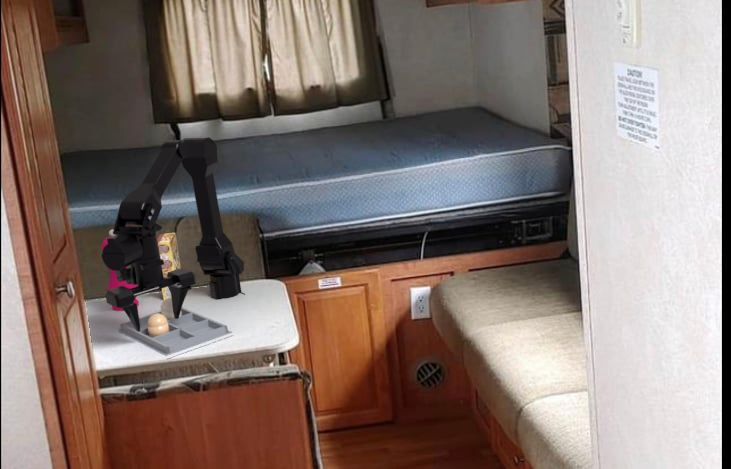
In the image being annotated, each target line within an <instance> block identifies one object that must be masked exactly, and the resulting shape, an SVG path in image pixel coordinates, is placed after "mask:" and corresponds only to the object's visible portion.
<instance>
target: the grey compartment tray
mask: <svg viewBox="0 0 731 469" xmlns="http://www.w3.org/2000/svg"><path fill="white" fill-rule="evenodd" d="M181 312H182V316H180V317H179V318H178V319H175V318H174V319H171V320H168V326H169V332H168V333H165V334H162V335H159V336H156V337H153V338H151V337H149V333H148V327H147V321H148V319H149V317H150V316H151V315H153V314H157V313H159V314H162V313H161V311H159V312H155V313H151V314H148V315H145V316H142V317H139V321H140V332H138V331H136V329H135V328H134V326H133V324H132V322H131V321H130V320H129V321H126V322H124V323H121V324H120V325H119V326H120V329H119V330H117V332H118V333H120V334H122V335H124V336H125V337H128V338H129V339H132V340H133V341H136V342H137V343H139V344H142V345H144V346H145V347H148V348H150V349H151V350H153V351H155V352H156V353H160V354H161V355H163V356H165V357H167V356H170V355H172V354H173V355H174V354H176V353H179V352H182V351H185V350H187V349H190V348H193V347H196V346H199V345H201V344H204V343H207V342H210V341H213V340H216V339H218V340H217V342H219V341H222V340H226V339H228V338H230V337H234V335H230V334H232V333H233V331H230V330H229V328H228V326H227V324H223V323H221V322H218V321H215V320H214V319H211V318H209V317H206V316H204V315H202V314H199V313H197V312H194V311H192V310H189V309H187V308H185V307H183V306H182V308H181ZM227 335H230V336H227ZM224 336H227V337H225V338H222V339H219V338H221V337H224ZM211 343H212V344H214V343H215V341H213V342H211ZM211 343H207V344H205V345H202V346H199V347H197V348H194V349H192V350H187V351H186V352H182V353H179V354H177V355H175V356H171V357H169V358H167V360H170V359H172V358H176V357H177V356H180V355H183V354H186V353H189V352H193V351H194V350H197V349H200V348H202V347H203V348H204V347H205V346H208V345H211Z"/></svg>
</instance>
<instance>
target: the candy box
mask: <svg viewBox="0 0 731 469" xmlns="http://www.w3.org/2000/svg"><path fill="white" fill-rule="evenodd" d="M157 240H158V246H159V252H160V258H161V259H163V261H164V264H163V265H162V271H163V277H165V278H167V274H168V272H170V271H173V270H177V269H180V268H182V265H181V260H180V254H179V253H180V252H179V248H178V242H177V241H178V240H177V236H176V232H168V233H167V232H166V233H161V234H160V233H159V236H157ZM161 294H162V298H163V301H164V300H165V299H167V298H171V293H170V290H169V288H168V287H165V288H161Z"/></svg>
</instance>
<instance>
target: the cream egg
mask: <svg viewBox="0 0 731 469" xmlns="http://www.w3.org/2000/svg"><path fill="white" fill-rule="evenodd" d="M160 312H161V313H162V315H164V316H165V317H166V318H167V320H171V319H174V318H175V317H174V313H173V307H172V298H167V299H165V300H164V299H163V301H162V302H161V304H160ZM180 316H182V312H180V315H179V317H180Z"/></svg>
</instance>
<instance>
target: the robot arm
mask: <svg viewBox="0 0 731 469" xmlns="http://www.w3.org/2000/svg"><path fill="white" fill-rule="evenodd" d="M218 160H219V159H218V147H217V143H216V141H215V140H213V139H212V138H211V137H208V136H207V137H185V138H183V139H182V140H166V141H165V142H163V144H162V145H161V150H160V152H159V153H158V155H157V157H156V159H155V160H154V162H153V163H152V166H150V169H149V171H148V172H147V174H146V175H145V177H144V178H143V180H142V182H141V184H140V185H139V186H138V187H137V188H135V189H133V190H131V191H130V192H129V193H128V194H126V196H125V197H124V198H123V199H122V201H121V202H120V204H119V208H118V213H117V216H116V219H115V223H114V227H113V229H114V230H113V234H114V235H116V236H114V237H109V236H108V237H109V238H107V237H106V238H107V242H108V244H107V245H106V246H105V247H104V249H103V250H102V254H101V258H102V261H103V263H104V265H105V267H107V268H108V269H109V270H110V269H111V270H114V271H116V277H117V280H118V282H123V281H126V282H127V285H128V284H133V285H137V287H134V288H131V289H129V288H126V287H124V286H120V287H116V288H113V289H110V290H108V289H107V291H106V293H105V300H106V301H105V302H106V303H107V304H109V305H111V306H112V305H113V306H115V307H117V308H121V309H123V310H124V311H123V312H124V313H125V314H126V315H127V317H128V319H129V322H130V321H131V322H132V324H133V326H134V328H135V329H136V331H138V332H140V321H139V318H140V316H139V315H140V314H139V310H138V306H137V304H135V303H133V302H134V300H135V297H136V296H137V297H138V296H139V297H140V296H141V295H145V294H148V293H151V292H155V291H157V290H158V291H159V290H162V288H165V287H168V288H169V290H170V293H171V298H172V307H173V313H174V317H175V319H178V318H179V315H180V312H181V308H182V307H183V304H184V302H185V299H186V297H187V294H188V291H190V290H192V286H194V285H196V284H197V279H196V275H195V273H194V272H193V271H191V270H188V269H185V268H183V267H181V268H180V269H177V270H173V271H170V272H168V274H167V278H165V277H163V271H162V265H163V264H164V261H163V259H161V258H160V252H159V246H158V240H157V238H158V235H157V232H158V231H162V229H163V226H162V225H160V224H159V223H157V221H158V218H159V216H160V213H161V211H162V208H163V206H162V197H163V195H164V193H165V192H166V190H167V189H168V188H167V187H168V186H169V184H170V182H171V181H172V179H173V177H174V175H175V173H176V172H177V170H178V169H179V167H180V165H182V168H183V169H184V171H185V172H186V173H187V174H188V175H189V177H190V178H191V181H192V182H191V184H192V188H193V192H194V198H195V204H196V209H197V215H198V221H199V226H200V231H201V239H200V241H199V244H197V245H196V246H195V253H196V257H197V258H196V261H197V262H196V263H199V266H200V268H201V270H202V273H203V274H204V276H209V279H210V281H209V282H208V284H209V289H210V290H209V292H210V298H211V299H214V300H216V301H217V300H223V299H231V298H234V297H236V296H238V295H239V294H241V295H244V296H246V293H244V292H242V287H241V278H240V275H242V273H243V272H244V270H245V261H244V260H242V259H241V257H240V256H238V255H237V254H236V252H235V249H234V247H233V246H234V245H233V243H232V241H231V240H230V238H229V237H228V235H226V234H225V232H224V230H223V228H224V227H223V223H222V218H221V212H220V205H219V202H218V195H217V190H216V183H215V179H214V178H215V177H214V172H215V170H216V167H217V164H218ZM127 266H128V269H127V268H126V267H127ZM129 266H130V268H129ZM137 297H136V298H137Z"/></svg>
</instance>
